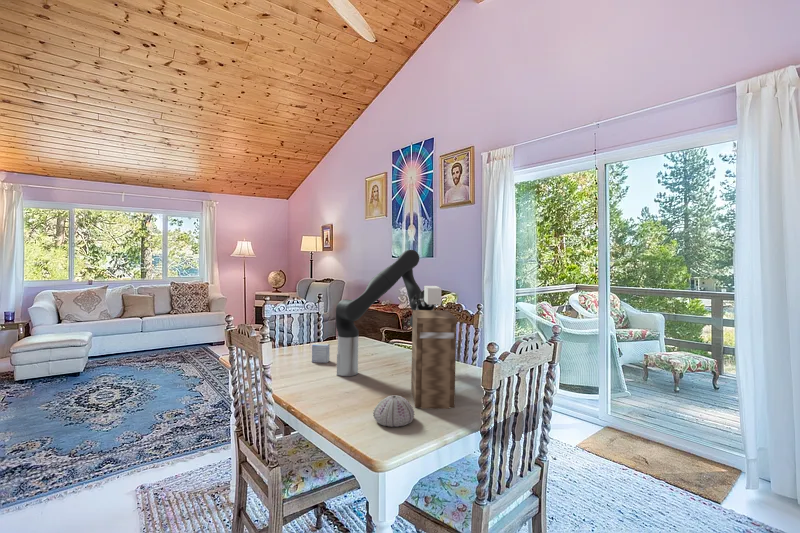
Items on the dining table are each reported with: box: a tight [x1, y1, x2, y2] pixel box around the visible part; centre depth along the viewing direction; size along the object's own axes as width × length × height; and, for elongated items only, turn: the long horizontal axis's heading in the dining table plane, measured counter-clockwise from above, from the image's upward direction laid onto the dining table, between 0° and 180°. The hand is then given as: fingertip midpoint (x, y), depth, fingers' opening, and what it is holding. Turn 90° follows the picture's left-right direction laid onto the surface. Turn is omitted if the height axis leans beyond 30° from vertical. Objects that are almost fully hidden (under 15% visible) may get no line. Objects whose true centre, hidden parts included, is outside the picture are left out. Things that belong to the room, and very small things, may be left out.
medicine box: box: [311, 342, 331, 364], centre depth 197 cm, size 8×4×9 cm, turn 84°
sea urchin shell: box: [372, 394, 415, 428], centre depth 128 cm, size 13×14×8 cm
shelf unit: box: [410, 309, 458, 410], centre depth 148 cm, size 14×21×32 cm
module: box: [423, 285, 442, 306], centre depth 156 cm, size 5×21×6 cm, turn 3°
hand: (429, 292), depth 162 cm, fingers closed on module, 4 cm apart
